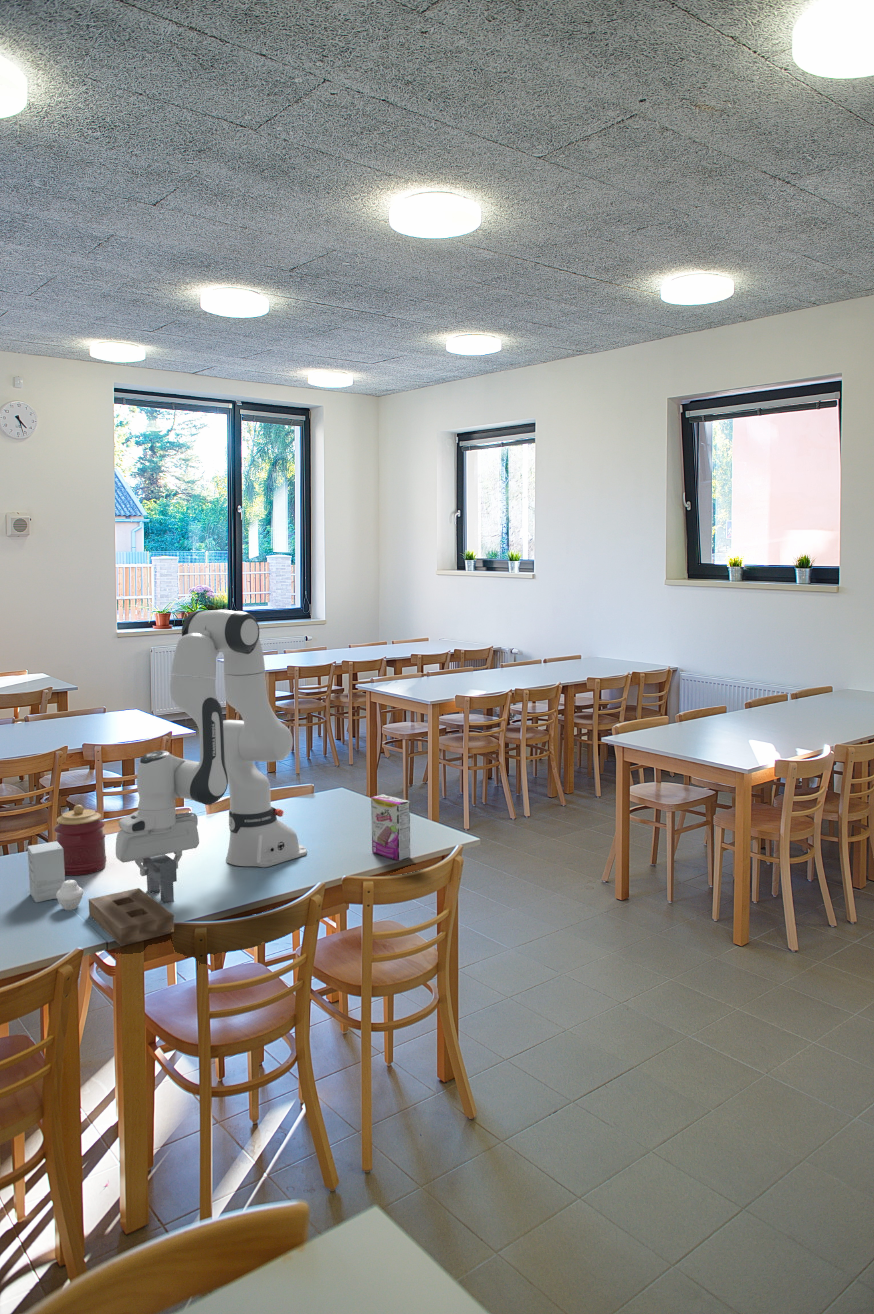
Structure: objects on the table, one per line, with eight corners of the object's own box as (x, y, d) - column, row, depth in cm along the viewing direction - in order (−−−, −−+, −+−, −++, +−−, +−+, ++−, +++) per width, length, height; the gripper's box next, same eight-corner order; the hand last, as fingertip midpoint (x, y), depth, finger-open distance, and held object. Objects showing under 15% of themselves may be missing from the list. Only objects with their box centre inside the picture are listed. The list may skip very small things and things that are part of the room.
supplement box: (60, 888, 237) (58, 840, 235) (66, 897, 231) (64, 848, 229) (29, 894, 233) (26, 845, 231) (34, 903, 227) (31, 853, 225)
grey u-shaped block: (159, 887, 237) (157, 849, 236) (177, 901, 227) (176, 861, 226) (143, 891, 234) (142, 852, 233) (161, 905, 225) (160, 865, 224)
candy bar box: (370, 853, 263) (370, 797, 261) (383, 849, 267) (382, 793, 265) (398, 862, 256) (397, 803, 254) (411, 857, 259) (410, 800, 257)
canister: (44, 873, 249) (41, 809, 247) (79, 858, 261) (76, 797, 259) (83, 879, 244) (79, 813, 242) (117, 863, 256) (114, 801, 254)
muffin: (78, 901, 228) (76, 873, 227) (88, 908, 223) (87, 879, 223) (52, 908, 224) (51, 879, 223) (62, 914, 219) (61, 886, 218)
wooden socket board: (139, 904, 226) (138, 888, 225) (174, 932, 208) (173, 915, 208) (89, 915, 218) (88, 899, 218) (121, 946, 201) (120, 928, 201)
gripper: (192, 808, 237) (194, 860, 239) (112, 822, 225) (114, 877, 227) (202, 813, 233) (204, 866, 234) (120, 827, 220) (123, 884, 222)
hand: (159, 872), depth 230 cm, fingers open, 6 cm apart
